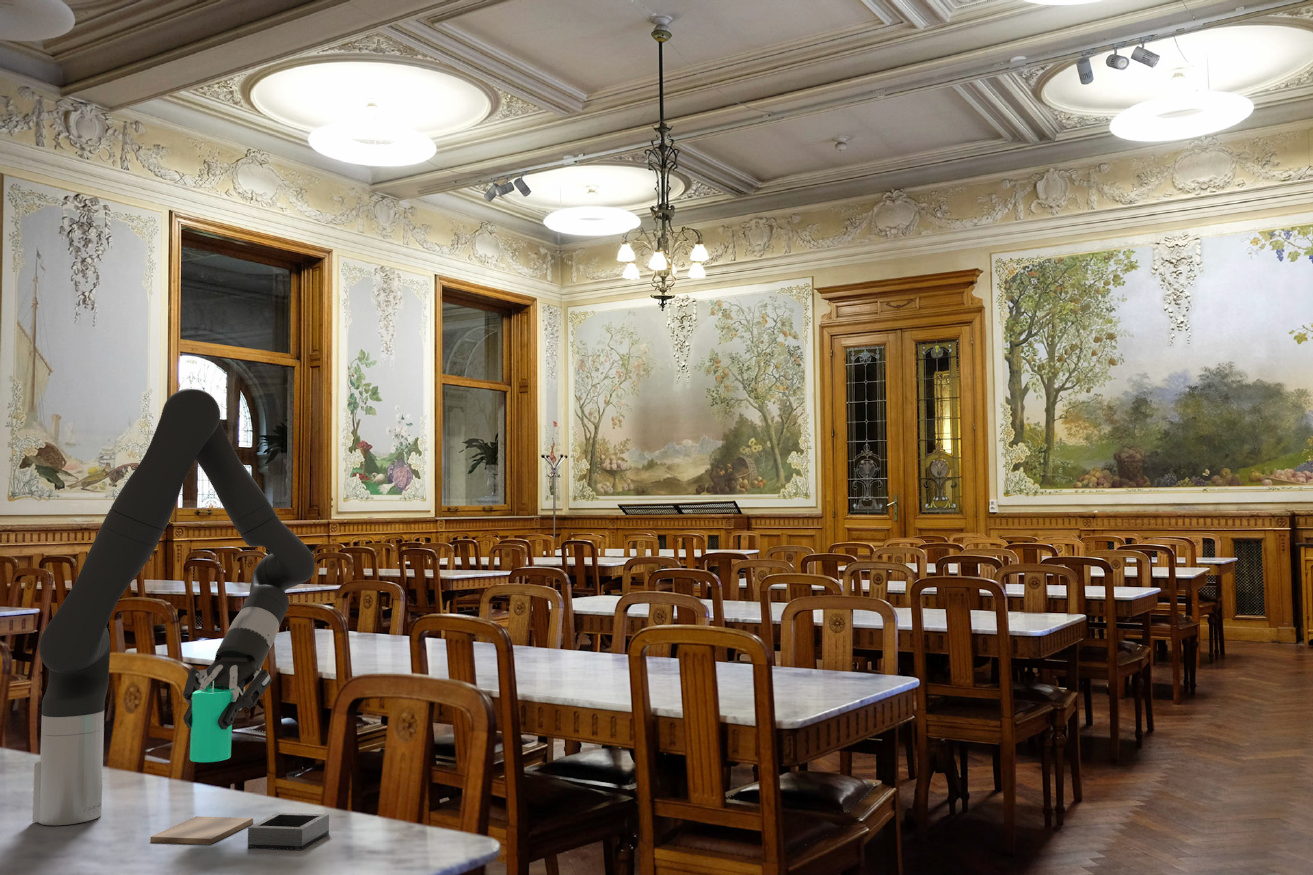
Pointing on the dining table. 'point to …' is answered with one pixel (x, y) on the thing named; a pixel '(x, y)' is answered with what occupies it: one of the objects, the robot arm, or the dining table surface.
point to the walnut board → (202, 830)
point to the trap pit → (288, 831)
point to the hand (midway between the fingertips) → (205, 725)
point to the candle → (209, 726)
